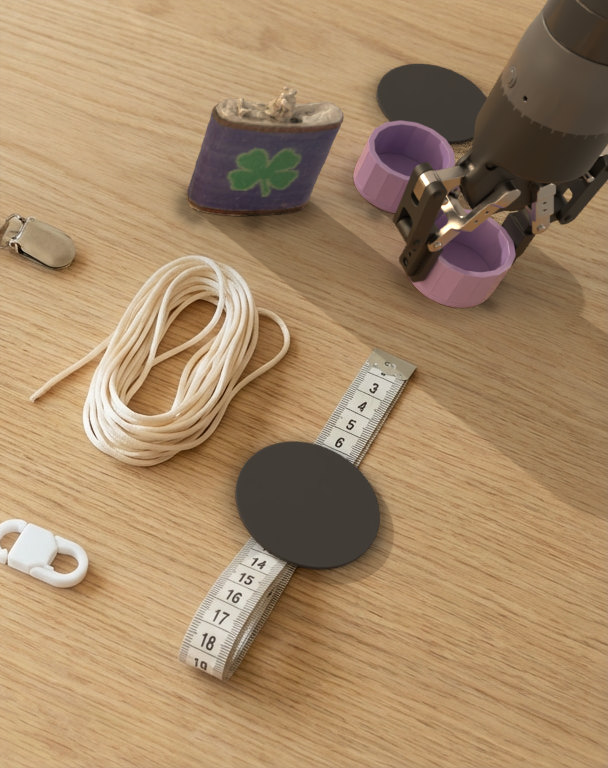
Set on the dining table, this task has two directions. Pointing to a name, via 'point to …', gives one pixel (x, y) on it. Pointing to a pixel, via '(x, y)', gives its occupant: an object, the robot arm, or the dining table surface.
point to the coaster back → (431, 100)
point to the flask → (262, 155)
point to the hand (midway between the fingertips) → (455, 264)
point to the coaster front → (307, 505)
